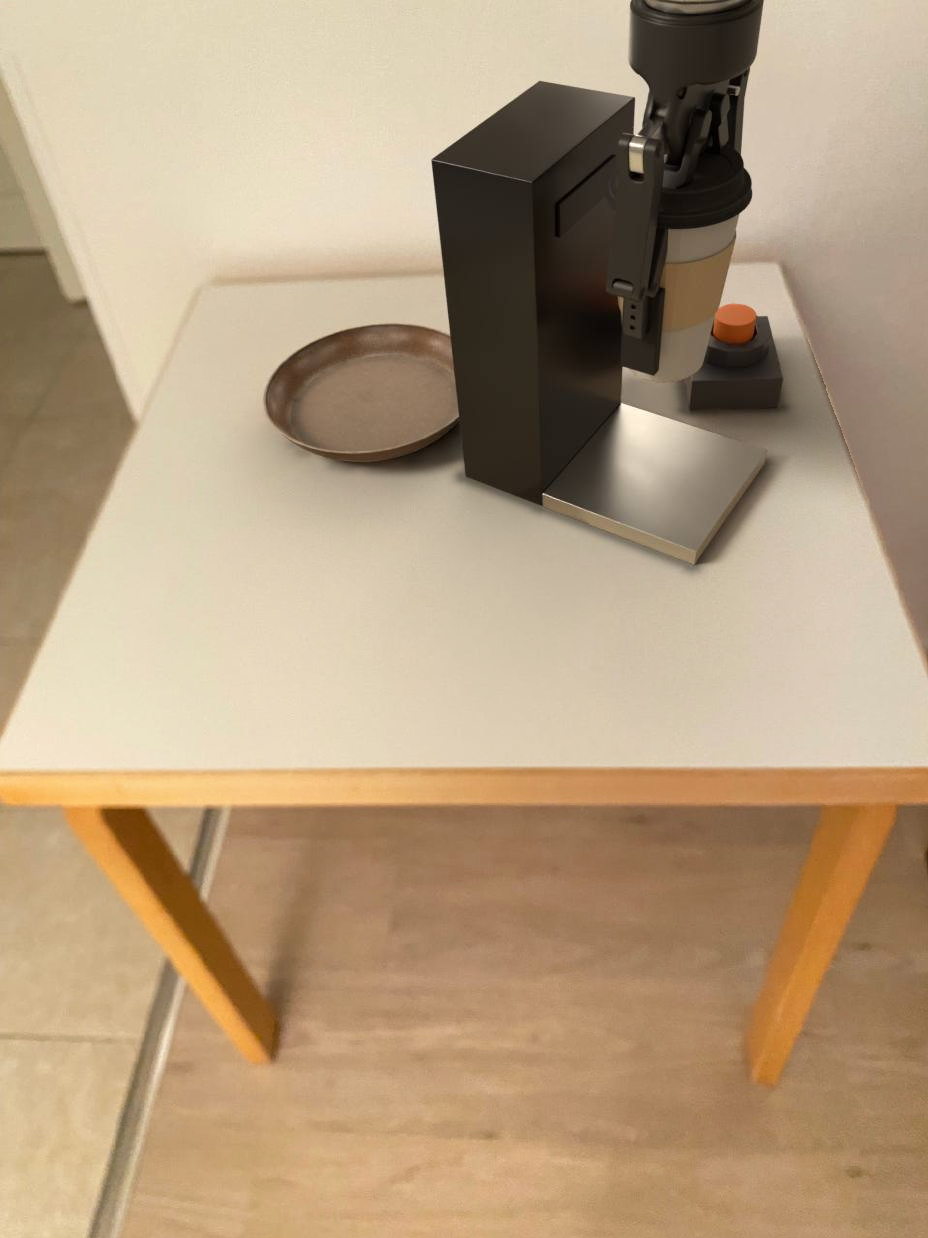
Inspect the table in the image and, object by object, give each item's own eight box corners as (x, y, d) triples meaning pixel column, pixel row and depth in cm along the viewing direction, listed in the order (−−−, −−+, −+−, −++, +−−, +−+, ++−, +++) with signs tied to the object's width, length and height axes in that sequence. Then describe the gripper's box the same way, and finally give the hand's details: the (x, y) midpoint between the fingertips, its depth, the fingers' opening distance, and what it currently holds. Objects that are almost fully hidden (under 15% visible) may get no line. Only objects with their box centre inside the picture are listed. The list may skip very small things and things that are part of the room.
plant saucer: (288, 352, 101) (281, 324, 99) (486, 342, 99) (483, 313, 97) (253, 485, 88) (244, 457, 85) (481, 476, 86) (478, 447, 84)
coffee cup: (639, 313, 78) (651, 120, 67) (749, 345, 74) (781, 146, 63) (578, 375, 74) (580, 179, 62) (692, 413, 70) (715, 211, 58)
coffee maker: (764, 463, 84) (830, 129, 63) (694, 565, 77) (740, 228, 56) (546, 391, 93) (539, 79, 72) (465, 476, 86) (430, 158, 65)
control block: (777, 407, 89) (787, 360, 85) (688, 410, 90) (694, 364, 86) (762, 344, 95) (770, 298, 91) (679, 347, 96) (684, 302, 92)
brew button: (755, 344, 88) (759, 324, 86) (715, 346, 88) (717, 326, 86) (750, 322, 90) (753, 302, 88) (711, 323, 90) (713, 303, 89)
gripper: (714, -72, 62) (683, 259, 79) (545, 47, 52) (551, 398, 69) (829, -61, 59) (771, 280, 76) (675, 67, 48) (647, 430, 66)
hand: (666, 336), depth 72 cm, fingers closed on coffee cup, 8 cm apart
